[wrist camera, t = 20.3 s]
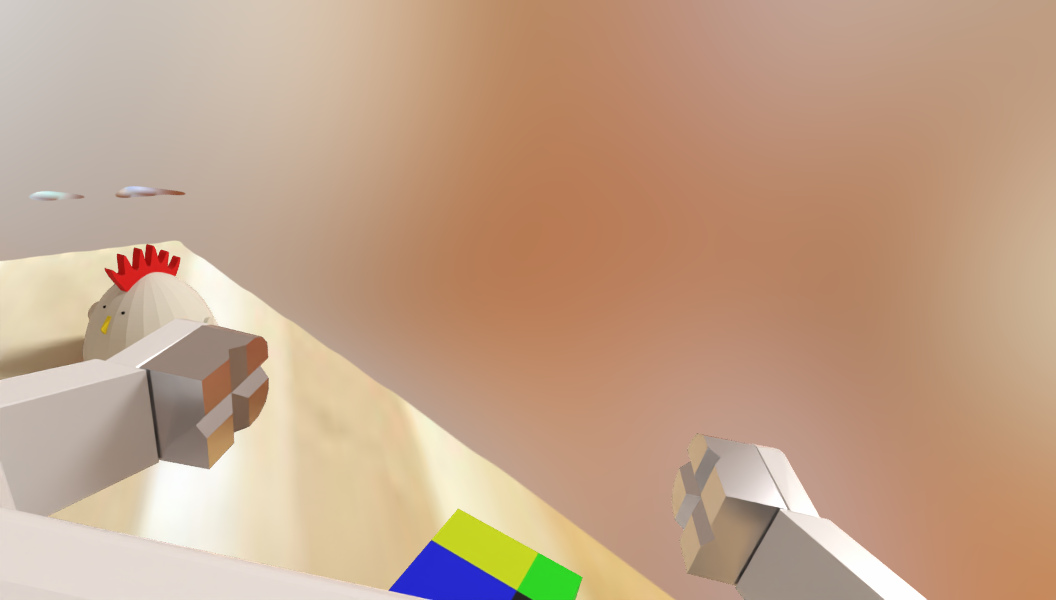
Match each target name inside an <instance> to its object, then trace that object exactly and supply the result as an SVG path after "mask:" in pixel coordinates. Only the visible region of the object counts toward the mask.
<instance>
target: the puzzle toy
mask: <svg viewBox="0 0 1056 600" xmlns="http://www.w3.org/2000/svg"><path fill="white" fill-rule="evenodd" d="M581 580H582V577H581V576H579V575H577V574H576V573H574V572H572V571H570V570H568V569H567V568H565V567H563V566H561V565H559V564H558V563H556V562H554V561H552V560H550V559H549V558H547V557H545V556H543V555H541V554H540V553H538V552H536V551H534V550H532V549H530V548H529V547H527V546H525V545H523V544H521V543H520V542H518V541H516V540H514V539H512V538H511V537H509V536H507V535H505V534H503V533H502V532H500V531H498V530H496V529H494V528H493V527H491V526H489V525H487V524H485V523H483V522H482V521H480V520H478V519H476V518H474V517H473V516H471V515H469V514H467V513H465V512H464V511H462V510H460V509H457V511H456V512H455V513H454V514H453V515H452V516H451V518H450V519H449V520H448V521H447V522H446V524H445V525H444V526H443V527H442V528H441V529H440V531H439V532H438V533H437V534H436V535H435V536H434V538H433V539H432V540H431V541H430V542H429V544H428V545H427V546H426V547H425V548H424V549H423V551H422V552H421V553H420V554H419V555H418V556H417V558H416V559H415V560H414V561H413V562H412V563H411V565H410V566H409V567H408V568H407V569H406V571H405V572H404V573H403V574H402V575H401V576H400V578H399V579H398V580H397V581H396V582H395V583H394V585H393V586H392V587H391V588H390V589H389V591H392V592H397V593H401V594H406V595H411V596H415V597H420V598H424V599H429V600H575V599H576V596H577V593H578V590H579V587H580V583H581Z"/></svg>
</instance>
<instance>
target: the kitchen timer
mask: <svg viewBox="0 0 1056 600" xmlns="http://www.w3.org/2000/svg"><path fill="white" fill-rule="evenodd" d="M168 257H169V252H168V251H164V250H160V252H159V255H158V256H157V253H156V249H155V247H154V246H152V245H148V244H147V245H146V252H145V258H144V255H143V252H142V250H141V249H138V248H134V251H133V263H132V266H131V265H130V263H129V261H128V259H127V257H126V256H124V255H121V254H117V263H118V273H116V272H114V271H113V270H110V269H106V268H105V271H106V273H107V274H108V276H109V277H110V278H111V280H112V281H113V282H114V283H115V284H114V285H113V286H112V287H111V288H110V289H109V290H108V291H107V292H106V293H105V294H104V295H103V297H102V298H101V299H100V301H99V302H96V303H94V304H93V305H92V306H91V308H90V309H89V312H88V317H89V323H88V327H87V331H86V335H85V339H84V344H83V361H89V360H93V359H99V360H104V361H106V360H108V359H109V358H111V357H113V356H114V355H116V354H118V353H119V352H121V351H123V350H124V349H126V348H128V347H129V346H131V345H133V344H134V343H136V342H138V341H139V340H141V339H143V338H144V337H146V336H148V335H149V334H151V333H153V332H154V331H156V330H158V329H159V328H161V327H163V326H164V325H166V324H168V323H169V322H171V321H173V320H174V319H189V320H194V321H198V322H203V323H207V324H209V325H215V326H218V324H217V322H216V320H215V318H214V316H213V314H212V312H211V310H210V308H209V307H208V305H207V304H206V302H205V301H204V299H203V298H202V297H201V296H200V295H199V293H198V292H197V291H196V290H194V289H193V288H192V287H191V286H190V285H188V284H187V283H185V282H184V281H182V280H181V279H179V278H177V277H175V276H176V274H177V271H178V267H179V264H180V257H177V256H173V257H172V259H171V261H170V263H169V265H168Z"/></svg>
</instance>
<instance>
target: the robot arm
mask: <svg viewBox="0 0 1056 600" xmlns="http://www.w3.org/2000/svg"><path fill="white" fill-rule="evenodd" d="M267 358H268V347H267V342H266V341H265V339H264V338H263V337H261V336H257V335H253V334H248V333H244V332H240V331H236V330H232V329H228V328H224V327H220V326H215V325H209V324H207V323H203V322H198V321H194V320H189V319H174V320H173V321H171V322H169V323H168V324H166V325H164V326H163V327H161V328H159V329H158V330H156V331H154V332H153V333H151V334H149V335H148V336H146V337H144V338H143V339H141V340H139V341H138V342H136V343H134V344H133V345H131V346H129V347H128V348H126V349H124V350H123V351H121V352H119V353H118V354H116V355H114V356H113V357H111V358H109V359H108V360H106V361H104V360H99V359H93V360H89V361H84V362H80V363H75V364H70V365H66V366H61V367H57V368H52V369H47V370H43V371H38V372H34V373H29V374H24V375H20V376H15V377H11V378H6V379H2V380H0V600H429V599H424V598H420V597H415V596H411V595H406V594H401V593H397V592H392V591H387V590H383V589H378V588H374V587H369V586H364V585H360V584H355V583H351V582H346V581H341V580H337V579H332V578H327V577H323V576H318V575H314V574H309V573H304V572H300V571H295V570H291V569H286V568H281V567H277V566H272V565H267V564H263V563H258V562H254V561H249V560H244V559H240V558H235V557H231V556H226V555H221V554H217V553H212V552H207V551H203V550H198V549H194V548H189V547H184V546H180V545H175V544H171V543H166V542H161V541H157V540H152V539H148V538H143V537H138V536H134V535H129V534H124V533H120V532H115V531H111V530H106V529H101V528H97V527H92V526H88V525H83V524H78V523H74V522H69V521H65V520H60V519H55V518H51V517H47V516H49V515H51V514H53V513H55V512H57V511H59V510H61V509H64V508H66V507H68V506H70V505H72V504H74V503H76V502H78V501H80V500H82V499H84V498H86V497H88V496H90V495H92V494H94V493H96V492H99V491H101V490H103V489H105V488H107V487H109V486H111V485H113V484H115V483H117V482H119V481H121V480H123V479H125V478H127V477H129V476H132V475H134V474H136V473H138V472H140V471H142V470H144V469H146V468H148V467H150V466H152V465H154V464H156V463H158V462H159V460H163V461H168V462H174V463H179V464H184V465H190V466H195V467H200V468H206V469H210V468H211V467H212V466H213V465H214V464H215V463H216V462H217V461H218V460H219V458H220V457H221V456H222V455H223V454H224V453H225V452H226V451H227V450H228V449H229V448H230V447H231V446H232V445H233V444H234V432H236V431H239V430H241V429H244V428H247V427H249V426H250V425H251V424H252V423H253V422H254V421H255V419H256V418H257V417H258V416H259V414H260V412H261V410H262V408H263V406H264V404H265V402H266V399H267V394H268V389H269V378H268V376H267V375H266V374H265V372H264V371H263V369H262V368H261V365H262V364H263V363H264V361H265V360H266V359H267ZM687 451H688V454H689V457H690V460H691V461H690V462H688V463H687V464H686V465H684V466H682V467H680V468H679V471H678V473H677V476H676V478H675V481H674V485H673V492H672V508H673V514H674V518H675V520H676V521H677V523H678V524H679V525H680V526H681V527H682V528H683V529H684V531H683V534H682V536H681V538H680V545H681V549H682V553H683V557H684V561H685V566H686V570H687V573H688V574H691V575H695V576H699V577H703V578H707V579H711V580H716V581H720V582H724V583H728V584H732V585H736V587H735V588H736V590H737V591H738V592H739V593H740V595H741V596H742V597H743V599H744V600H927V599H926V598H924V597H923V596H922V595H921V594H919V593H918V592H917V591H915V589H913V588H912V587H911V586H910V585H908V584H907V583H906V582H905V581H904V580H902V579H901V578H899V577H898V576H897V575H896V574H895V573H894V572H893V571H891V570H890V569H889V568H887V567H886V566H885V565H884V564H883V563H881V562H880V561H879V560H878V559H877V558H875V557H874V556H873V555H872V554H870V553H869V552H868V551H867V550H866V549H864V548H863V547H862V546H861V545H859V544H858V543H857V542H856V541H854V540H853V539H852V538H851V537H850V536H848V535H847V534H846V533H845V532H843V531H842V530H841V529H840V528H839V527H837V526H836V525H835V524H834V523H832V522H831V521H830V520H828V519H824V518H820V517H819V515H818V513H817V512H816V510H815V508H814V506H813V504H812V503H811V501H810V499H809V497H808V496H807V494H806V492H805V490H804V488H803V487H802V485H801V483H800V481H799V480H798V478H797V476H796V474H795V473H794V471H793V469H792V467H791V465H790V464H789V462H788V460H787V458H786V456H785V455H784V453H782V452H781V451H780V450H779V449H776V448H771V447H766V446H760V445H755V444H746V443H741V442H737V441H732V440H727V439H722V438H717V437H712V436H708V435H703V434H698V433H697V434H696V435H695V437H694V438H693V439H692V441H691V443H690V445H689V447H688V449H687Z"/></svg>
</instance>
